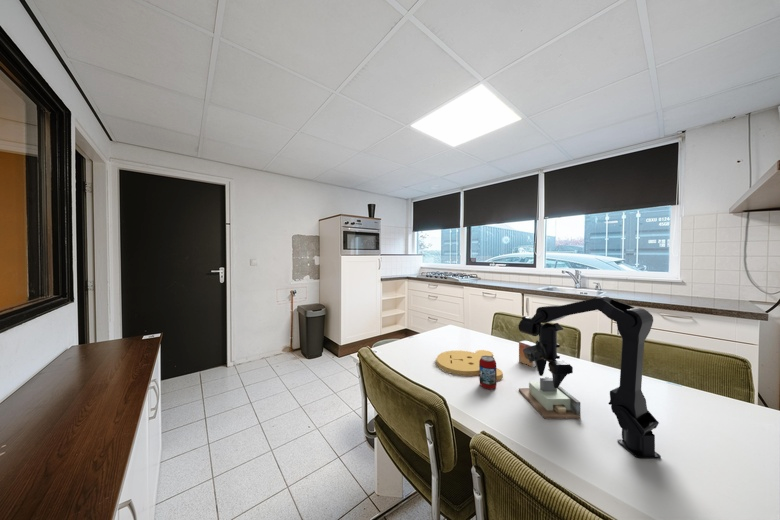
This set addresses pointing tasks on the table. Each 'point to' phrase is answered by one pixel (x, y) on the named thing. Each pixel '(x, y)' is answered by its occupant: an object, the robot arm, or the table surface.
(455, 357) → the decorative plaque
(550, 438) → the table surface
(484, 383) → the beverage can
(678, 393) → the table surface
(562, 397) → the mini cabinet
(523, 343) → the small box
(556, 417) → the cleat board
